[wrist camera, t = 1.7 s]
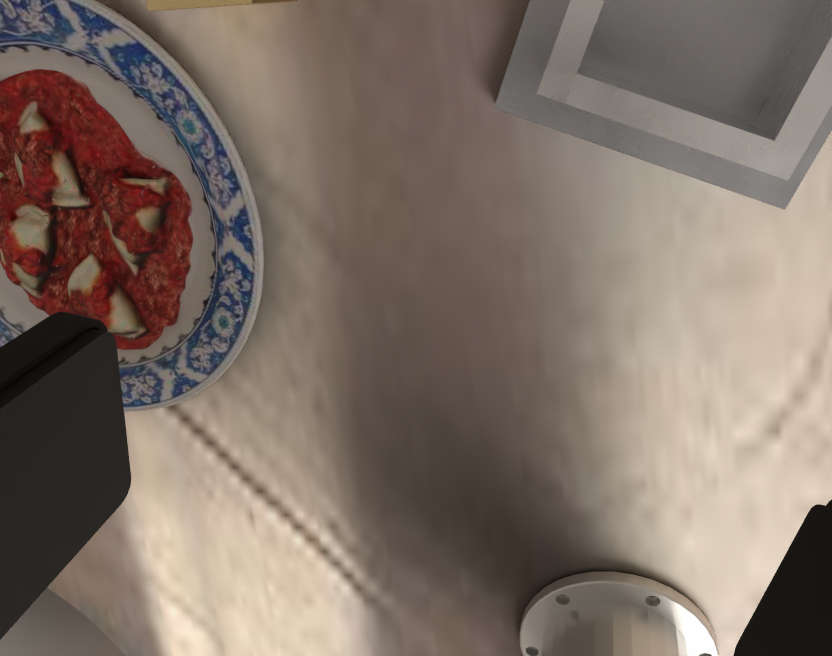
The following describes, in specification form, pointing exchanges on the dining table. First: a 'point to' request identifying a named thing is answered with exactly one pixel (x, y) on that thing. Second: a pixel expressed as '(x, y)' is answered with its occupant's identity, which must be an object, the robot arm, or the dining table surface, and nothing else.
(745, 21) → the grey square holder
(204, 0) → the red push button
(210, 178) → the ceramic plate
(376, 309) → the dining table surface
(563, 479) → the dining table surface
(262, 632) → the dining table surface
